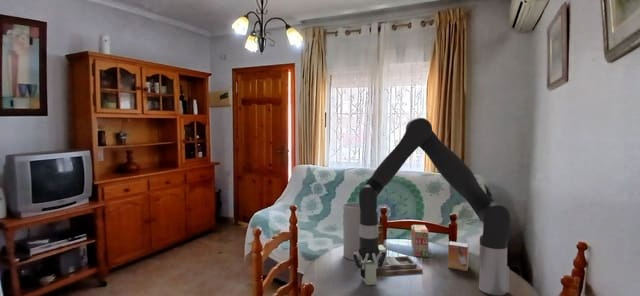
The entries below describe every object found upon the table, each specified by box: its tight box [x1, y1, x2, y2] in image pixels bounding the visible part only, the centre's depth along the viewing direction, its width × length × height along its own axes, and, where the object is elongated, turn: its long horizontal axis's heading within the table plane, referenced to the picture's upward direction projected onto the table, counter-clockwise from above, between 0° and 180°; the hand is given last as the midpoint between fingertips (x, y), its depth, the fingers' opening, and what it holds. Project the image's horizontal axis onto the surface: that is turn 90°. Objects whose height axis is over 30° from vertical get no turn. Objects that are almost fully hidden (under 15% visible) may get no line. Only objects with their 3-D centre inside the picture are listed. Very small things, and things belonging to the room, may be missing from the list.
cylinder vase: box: [342, 201, 362, 262], centre depth 161 cm, size 12×12×25 cm
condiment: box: [378, 223, 387, 248], centre depth 174 cm, size 7×8×12 cm
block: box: [376, 244, 388, 266], centre depth 147 cm, size 4×6×8 cm, turn 8°
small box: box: [447, 240, 470, 272], centre depth 148 cm, size 8×6×10 cm
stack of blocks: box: [410, 224, 430, 258], centre depth 171 cm, size 21×6×12 cm, turn 170°
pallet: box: [376, 255, 423, 277], centre depth 148 cm, size 22×14×3 cm, turn 98°
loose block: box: [361, 260, 377, 286], centre depth 134 cm, size 4×6×8 cm, turn 8°
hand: (369, 276), depth 134 cm, fingers closed on loose block, 4 cm apart
